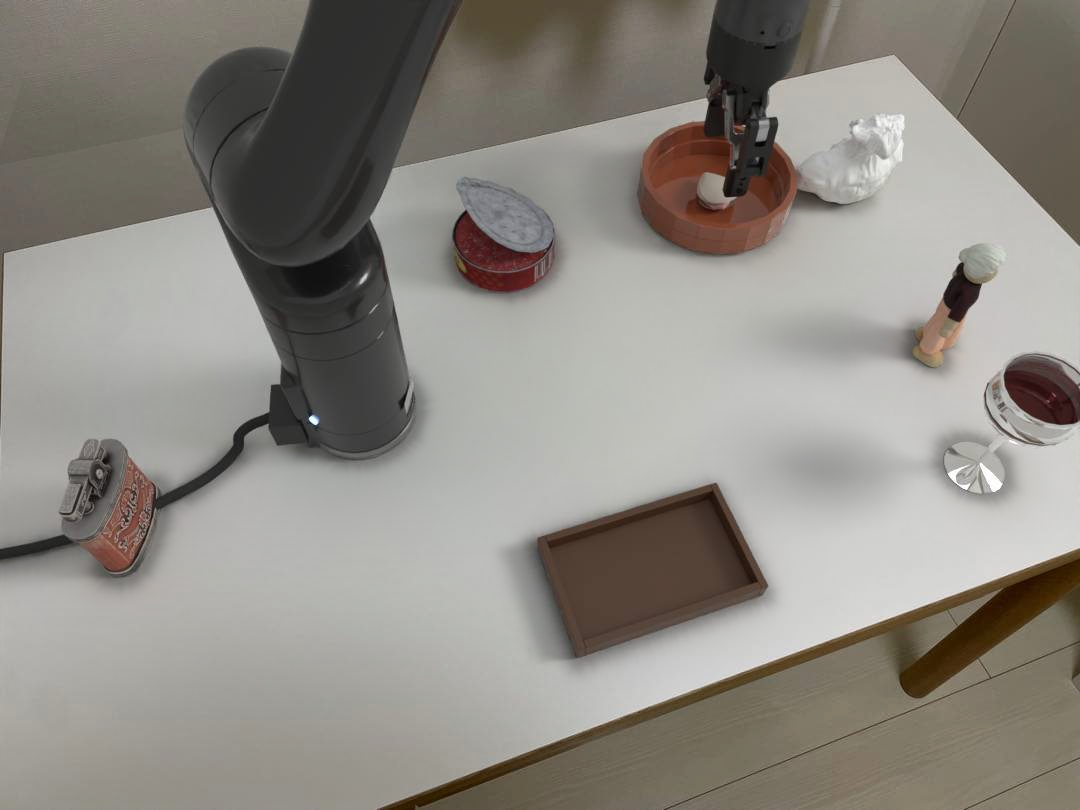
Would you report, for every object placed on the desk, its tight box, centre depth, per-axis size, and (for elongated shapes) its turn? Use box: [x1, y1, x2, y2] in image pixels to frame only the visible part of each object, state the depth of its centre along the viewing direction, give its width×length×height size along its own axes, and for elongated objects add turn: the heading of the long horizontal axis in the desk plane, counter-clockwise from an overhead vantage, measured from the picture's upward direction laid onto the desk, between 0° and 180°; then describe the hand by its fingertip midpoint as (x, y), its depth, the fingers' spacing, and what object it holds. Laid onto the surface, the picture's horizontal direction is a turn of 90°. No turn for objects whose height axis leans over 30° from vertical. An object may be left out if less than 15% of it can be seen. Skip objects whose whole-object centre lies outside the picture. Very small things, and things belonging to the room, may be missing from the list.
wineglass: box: [943, 350, 1080, 495], centre depth 66 cm, size 7×7×12 cm
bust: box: [795, 112, 906, 205], centre depth 84 cm, size 12×8×11 cm
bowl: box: [636, 120, 798, 255], centre depth 86 cm, size 15×15×4 cm
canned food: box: [451, 176, 556, 294], centre depth 81 cm, size 11×10×10 cm
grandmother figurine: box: [911, 242, 1008, 368], centre depth 73 cm, size 8×4×13 cm, turn 168°
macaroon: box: [696, 172, 738, 210], centre depth 86 cm, size 4×5×2 cm
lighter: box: [57, 437, 162, 579], centre depth 63 cm, size 8×3×10 cm, turn 178°
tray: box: [536, 482, 769, 659], centre depth 65 cm, size 15×9×2 cm, turn 109°
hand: (723, 163), depth 83 cm, fingers open, 8 cm apart
